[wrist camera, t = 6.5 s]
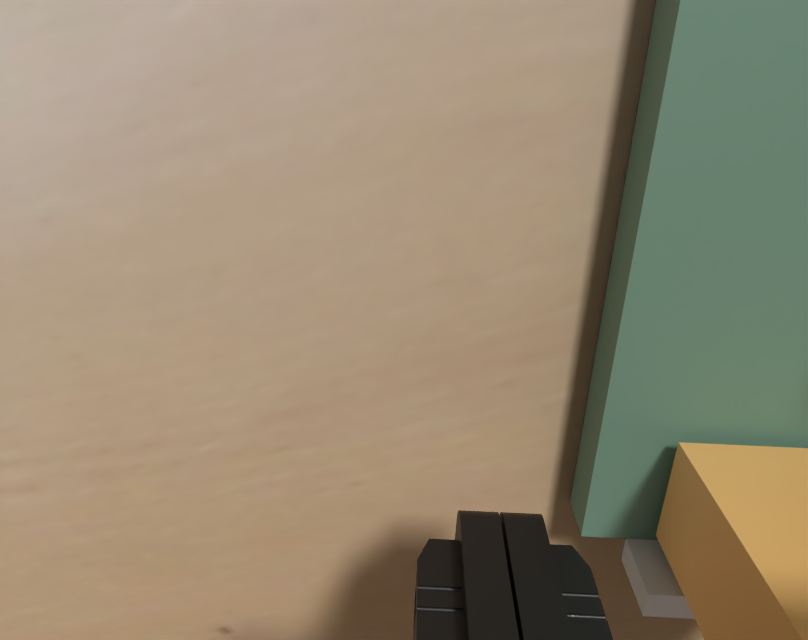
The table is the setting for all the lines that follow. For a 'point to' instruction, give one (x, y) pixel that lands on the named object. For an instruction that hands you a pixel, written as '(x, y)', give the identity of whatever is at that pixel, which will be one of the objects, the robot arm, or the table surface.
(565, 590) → the robot arm
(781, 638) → the clip
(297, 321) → the table surface
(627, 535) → the slotted rack on board
